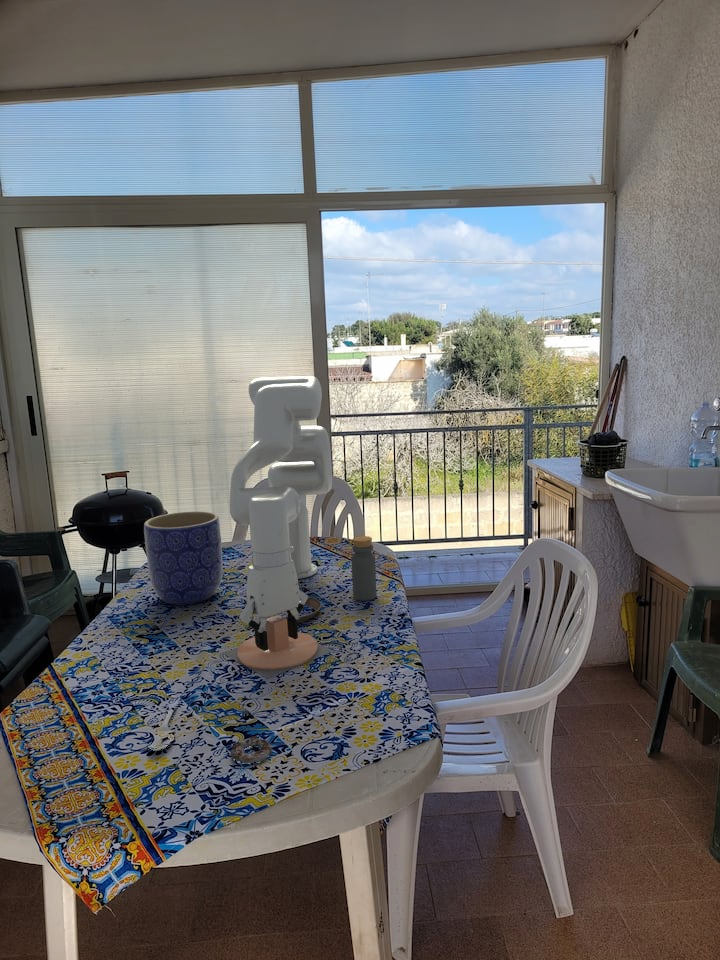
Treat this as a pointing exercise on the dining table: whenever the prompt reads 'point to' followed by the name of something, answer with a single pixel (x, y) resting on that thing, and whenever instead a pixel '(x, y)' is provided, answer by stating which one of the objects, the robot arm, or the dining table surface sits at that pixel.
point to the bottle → (363, 569)
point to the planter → (184, 556)
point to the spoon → (164, 728)
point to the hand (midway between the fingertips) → (277, 642)
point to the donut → (262, 754)
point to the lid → (278, 648)
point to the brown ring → (314, 604)
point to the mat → (270, 673)
